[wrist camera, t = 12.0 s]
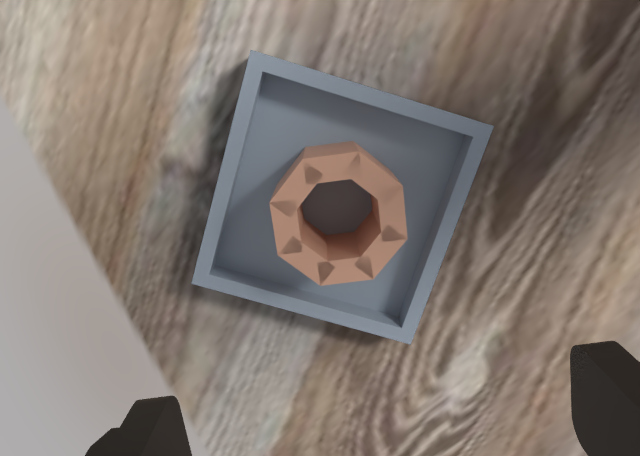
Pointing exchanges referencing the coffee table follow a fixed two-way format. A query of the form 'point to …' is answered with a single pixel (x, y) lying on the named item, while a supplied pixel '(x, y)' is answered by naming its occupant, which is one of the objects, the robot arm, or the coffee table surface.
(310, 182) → the ring
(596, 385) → the robot arm
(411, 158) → the tray
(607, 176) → the coffee table surface
